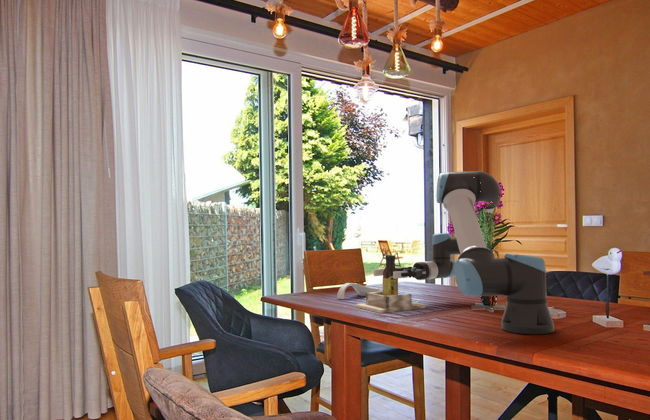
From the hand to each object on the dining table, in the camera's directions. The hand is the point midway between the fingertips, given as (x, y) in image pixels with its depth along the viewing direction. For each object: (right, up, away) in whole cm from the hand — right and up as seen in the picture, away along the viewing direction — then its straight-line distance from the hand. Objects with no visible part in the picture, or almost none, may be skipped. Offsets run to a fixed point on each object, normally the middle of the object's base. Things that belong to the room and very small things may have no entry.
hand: (383, 273), depth 200 cm
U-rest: (+3, -14, +1) cm, 14 cm away
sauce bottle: (+3, -13, +1) cm, 13 cm away
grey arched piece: (-8, -16, +34) cm, 38 cm away
